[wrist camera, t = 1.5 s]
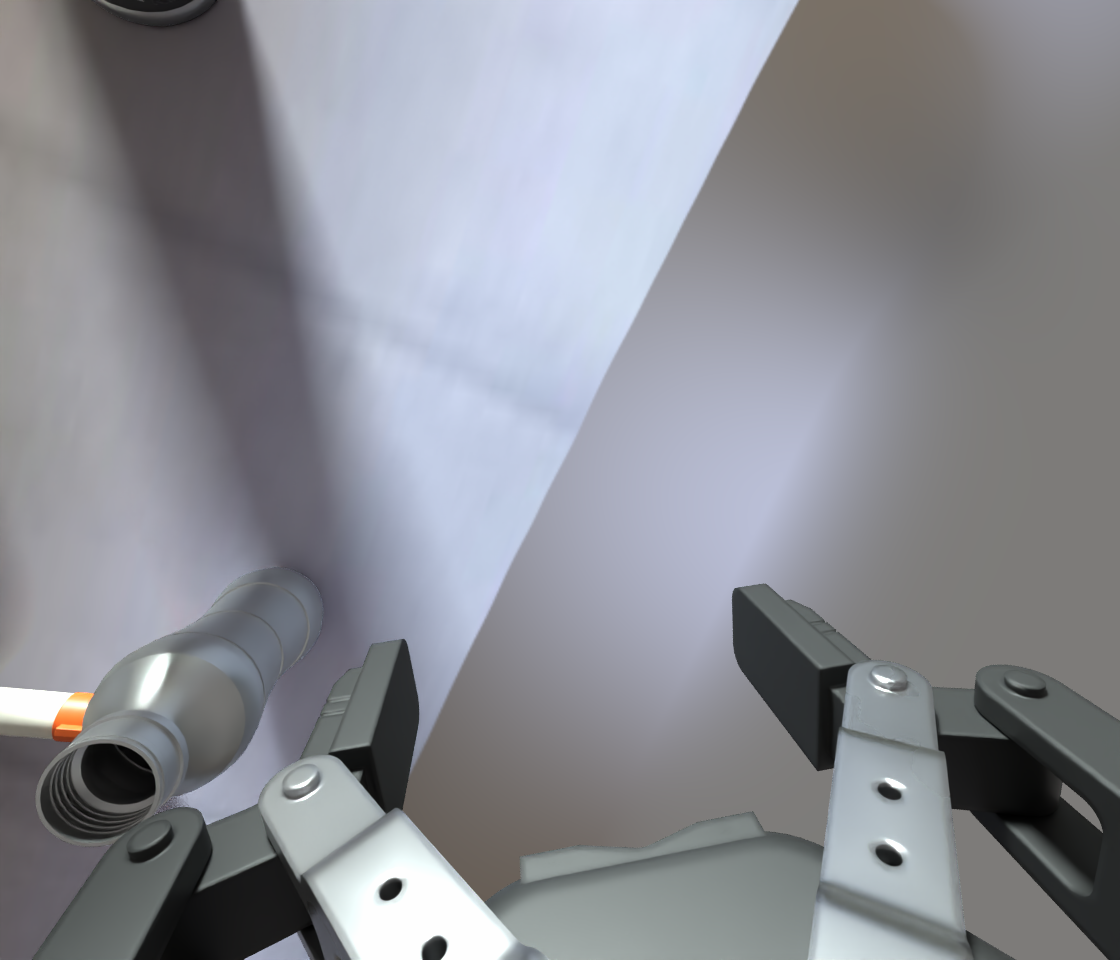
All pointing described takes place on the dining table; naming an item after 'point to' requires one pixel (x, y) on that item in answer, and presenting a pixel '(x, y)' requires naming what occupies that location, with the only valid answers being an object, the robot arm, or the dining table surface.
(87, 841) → the silver metal bottle
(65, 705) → the marker
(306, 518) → the dining table surface
